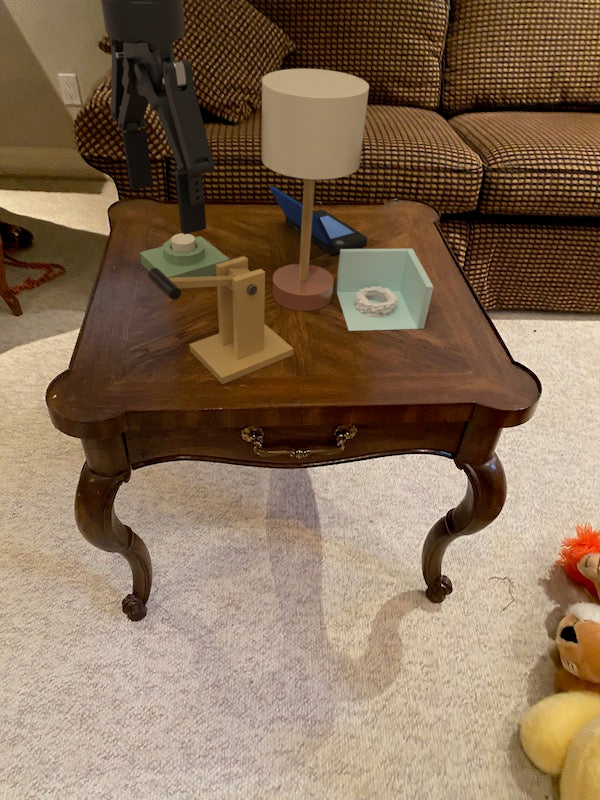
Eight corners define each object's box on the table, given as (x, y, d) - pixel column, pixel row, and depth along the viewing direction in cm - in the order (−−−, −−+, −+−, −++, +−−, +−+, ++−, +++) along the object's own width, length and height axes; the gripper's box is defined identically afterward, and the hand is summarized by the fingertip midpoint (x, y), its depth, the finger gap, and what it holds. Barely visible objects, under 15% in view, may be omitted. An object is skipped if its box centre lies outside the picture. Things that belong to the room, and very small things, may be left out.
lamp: (293, 328, 90) (305, 103, 69) (243, 287, 98) (241, 75, 77) (361, 301, 97) (391, 89, 76) (310, 265, 105) (324, 64, 84)
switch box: (167, 289, 97) (165, 267, 94) (140, 263, 102) (137, 242, 100) (230, 270, 102) (229, 249, 100) (201, 246, 108) (200, 226, 105)
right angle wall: (336, 289, 99) (340, 249, 94) (404, 288, 101) (412, 248, 96) (348, 330, 90) (354, 288, 85) (423, 328, 92) (433, 287, 87)
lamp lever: (168, 303, 69) (170, 284, 67) (147, 282, 72) (149, 264, 70) (258, 297, 77) (262, 280, 76) (236, 279, 80) (239, 262, 79)
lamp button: (178, 256, 98) (177, 246, 97) (167, 246, 100) (166, 236, 99) (200, 250, 100) (199, 240, 98) (188, 240, 102) (187, 231, 101)
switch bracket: (222, 384, 80) (218, 297, 70) (189, 350, 85) (181, 265, 75) (293, 355, 85) (298, 270, 76) (258, 325, 90) (259, 242, 81)
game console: (369, 246, 112) (376, 198, 105) (313, 263, 106) (316, 214, 99) (321, 214, 121) (324, 169, 115) (266, 228, 115) (267, 181, 109)
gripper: (245, 8, 49) (249, 243, 63) (124, -32, 64) (150, 166, 78) (163, 14, 45) (187, 260, 60) (55, -29, 60) (95, 177, 74)
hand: (166, 207), depth 69 cm, fingers open, 13 cm apart
